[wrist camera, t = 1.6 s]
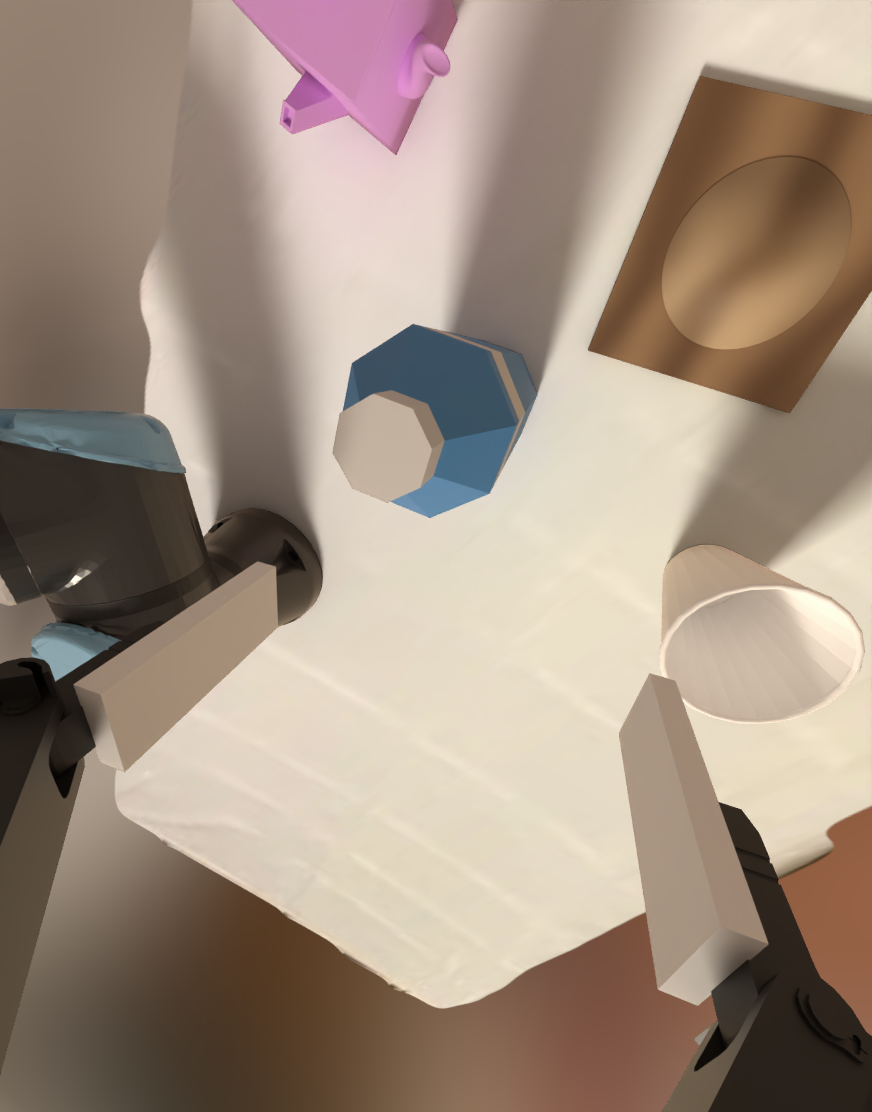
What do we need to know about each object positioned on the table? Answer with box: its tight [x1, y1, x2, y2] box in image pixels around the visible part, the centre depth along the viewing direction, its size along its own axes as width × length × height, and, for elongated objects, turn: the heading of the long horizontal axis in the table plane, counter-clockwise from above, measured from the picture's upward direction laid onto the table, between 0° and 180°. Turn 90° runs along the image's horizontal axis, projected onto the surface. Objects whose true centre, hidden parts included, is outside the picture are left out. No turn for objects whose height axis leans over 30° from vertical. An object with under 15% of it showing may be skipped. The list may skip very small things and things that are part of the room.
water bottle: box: [333, 324, 537, 518], centre depth 27 cm, size 9×9×25 cm
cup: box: [659, 545, 865, 724], centre depth 34 cm, size 12×12×12 cm
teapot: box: [232, 0, 458, 155], centre depth 26 cm, size 18×13×10 cm
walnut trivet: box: [588, 76, 872, 413], centre depth 29 cm, size 16×16×1 cm
